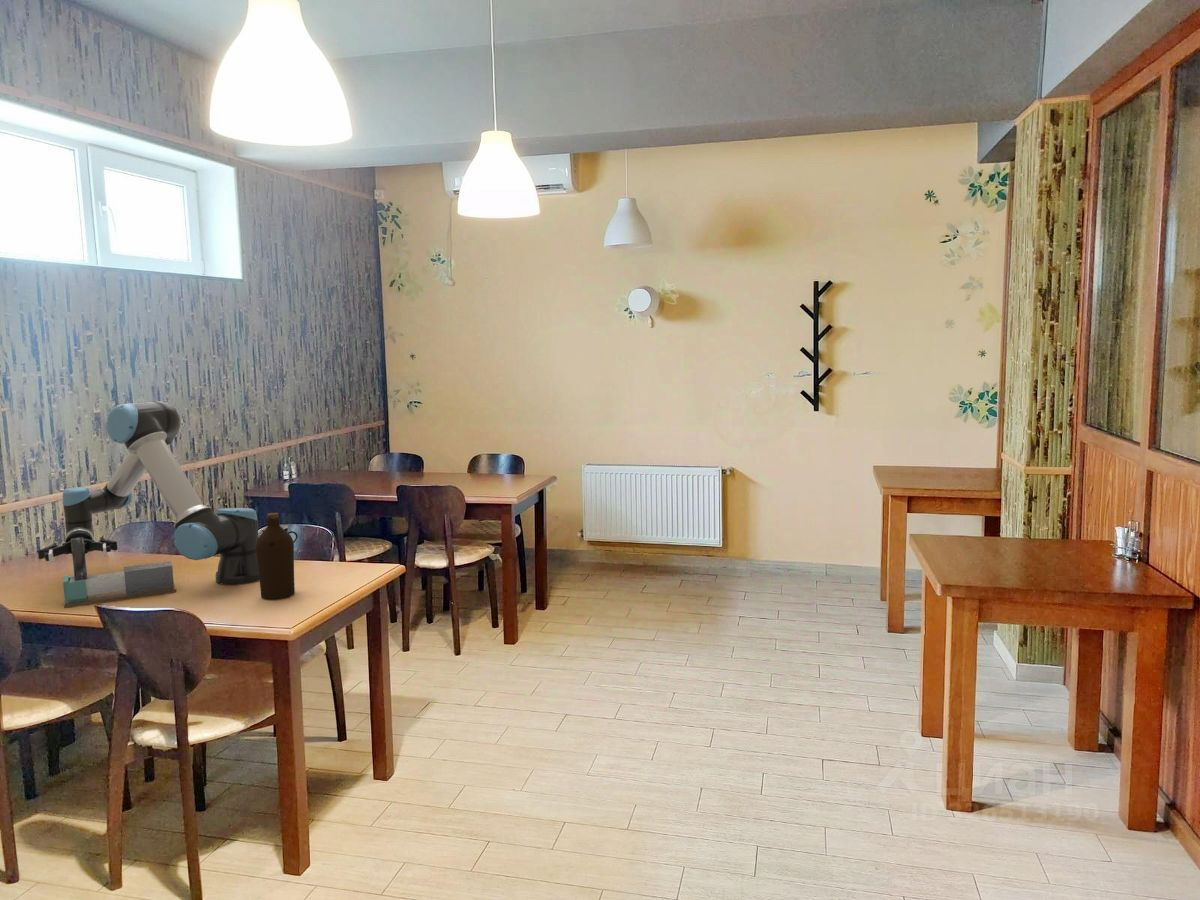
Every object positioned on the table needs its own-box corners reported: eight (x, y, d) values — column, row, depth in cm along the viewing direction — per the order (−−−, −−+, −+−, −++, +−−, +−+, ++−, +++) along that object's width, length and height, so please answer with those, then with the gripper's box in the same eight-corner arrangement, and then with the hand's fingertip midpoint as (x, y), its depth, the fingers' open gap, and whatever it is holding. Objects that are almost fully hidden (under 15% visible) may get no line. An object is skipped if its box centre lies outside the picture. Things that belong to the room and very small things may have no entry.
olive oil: (302, 595, 251) (297, 513, 248) (267, 603, 243) (261, 518, 240) (288, 588, 258) (283, 508, 255) (253, 595, 251) (247, 513, 248)
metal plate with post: (133, 585, 257) (128, 531, 255) (133, 589, 253) (128, 534, 251) (71, 593, 249) (66, 538, 247) (71, 597, 245) (65, 541, 243)
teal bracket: (87, 594, 252) (85, 573, 251) (87, 600, 246) (85, 578, 245) (66, 597, 249) (64, 576, 248) (65, 603, 243) (63, 581, 242)
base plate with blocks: (173, 584, 265) (171, 559, 264) (176, 592, 256) (174, 566, 255) (65, 599, 250) (62, 573, 249) (64, 608, 242) (61, 581, 241)
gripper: (125, 547, 271) (127, 561, 252) (33, 558, 258) (28, 574, 240) (123, 525, 270) (125, 537, 252) (30, 535, 257) (25, 548, 239)
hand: (78, 555), depth 246 cm, fingers open, 13 cm apart
